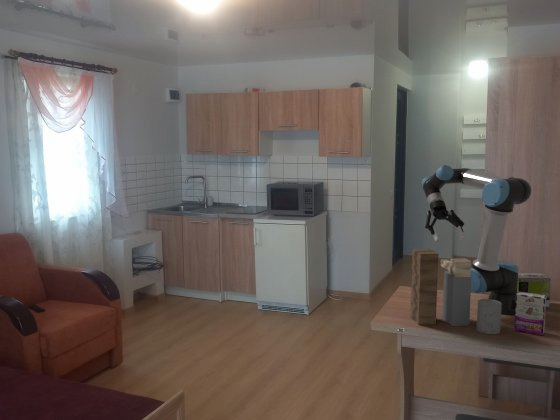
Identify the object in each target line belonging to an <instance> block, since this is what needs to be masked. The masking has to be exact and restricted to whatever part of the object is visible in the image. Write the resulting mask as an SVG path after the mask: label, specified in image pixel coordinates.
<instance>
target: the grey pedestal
mask: <svg viewBox="0 0 560 420" xmlns="http://www.w3.org/2000/svg"><path fill="white" fill-rule="evenodd" d="M443 272H444V273H443V294H442V295H443V298H442V315H441V316H442V317H441V319H442V320H444V321H445V322H446V323H448V324H449V325H450V326H451V327H458V326H459V327H460V326H462V327H463V326H470V320H471V319H470V316H471V315H470V314H471V296H472V294H471V292H472V291H471V276H470V277H453V276H452V275H450V271H448V270H447V271H443Z"/></svg>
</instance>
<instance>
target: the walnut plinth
mask: <svg viewBox="0 0 560 420" xmlns="http://www.w3.org/2000/svg"><path fill="white" fill-rule="evenodd" d="M411 253H412V259H411V260H412V261H411V288H410V289H411V292H410V297H411V298H410V319H412V320H413V321H414V322H415V324H417V325H418V326H420V325H421V326H423V325H425V326H427V325H437V324H436V323H437V322H436V321H437V304H438V302H437V301H438V282H439V279H438V278H439V277H438V276H439V255H440V253H438V252H436V251H434V250H433V249H431V248H412V252H411Z"/></svg>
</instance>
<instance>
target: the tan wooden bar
mask: <svg viewBox="0 0 560 420" xmlns="http://www.w3.org/2000/svg"><path fill="white" fill-rule="evenodd" d="M440 267H442V268H444V269H445V270H447V271H450V275H452V276H453V277H470V271H471V268H472V261H471V260H470V259H468V258H450V260H448V259H447V258H446V259H445V258H444V259H440Z"/></svg>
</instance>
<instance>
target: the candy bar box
mask: <svg viewBox="0 0 560 420" xmlns="http://www.w3.org/2000/svg"><path fill="white" fill-rule="evenodd" d="M546 308H547V307H546V295H540V294H533V293H525V292H518V293H517V294H516V311H515V314H514V315H515V317H514V331H515V332H519V331H520V332H519V333H525V332H526V334H530V333H532V334H531V335H536V334H538V336H541V335H543V336H544V334H545V332H546V331H545V325H546V324H545V323H546V311H547V309H546Z"/></svg>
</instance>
